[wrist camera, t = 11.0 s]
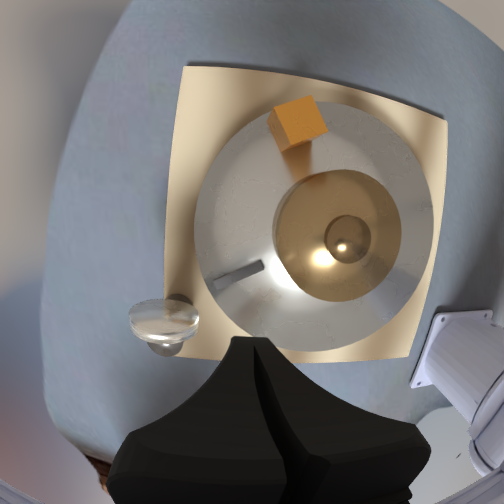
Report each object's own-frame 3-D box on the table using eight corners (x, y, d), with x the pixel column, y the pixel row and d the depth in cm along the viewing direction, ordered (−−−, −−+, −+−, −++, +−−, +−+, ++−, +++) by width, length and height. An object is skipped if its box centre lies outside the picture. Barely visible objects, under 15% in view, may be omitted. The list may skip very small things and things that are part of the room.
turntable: (379, 82, 16) (410, 63, 12) (440, 283, 20) (472, 301, 15) (154, 165, 16) (132, 159, 12) (258, 374, 20) (264, 412, 16)
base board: (442, 122, 18) (447, 121, 17) (404, 353, 22) (407, 356, 21) (185, 69, 16) (183, 66, 15) (167, 350, 20) (165, 355, 20)
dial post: (206, 282, 19) (194, 333, 12) (205, 319, 20) (194, 379, 13) (154, 278, 19) (119, 323, 12) (155, 314, 19) (125, 370, 13)
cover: (357, 154, 16) (381, 149, 13) (393, 256, 17) (419, 269, 14) (251, 201, 16) (255, 204, 13) (299, 305, 18) (312, 328, 15)
